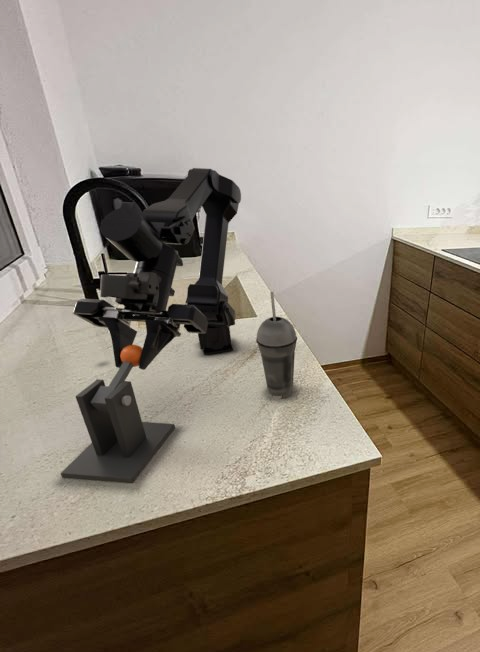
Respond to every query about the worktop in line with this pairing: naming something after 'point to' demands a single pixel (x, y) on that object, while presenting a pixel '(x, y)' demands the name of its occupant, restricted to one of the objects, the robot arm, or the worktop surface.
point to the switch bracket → (115, 437)
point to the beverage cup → (277, 353)
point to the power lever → (118, 375)
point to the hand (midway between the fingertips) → (130, 368)
